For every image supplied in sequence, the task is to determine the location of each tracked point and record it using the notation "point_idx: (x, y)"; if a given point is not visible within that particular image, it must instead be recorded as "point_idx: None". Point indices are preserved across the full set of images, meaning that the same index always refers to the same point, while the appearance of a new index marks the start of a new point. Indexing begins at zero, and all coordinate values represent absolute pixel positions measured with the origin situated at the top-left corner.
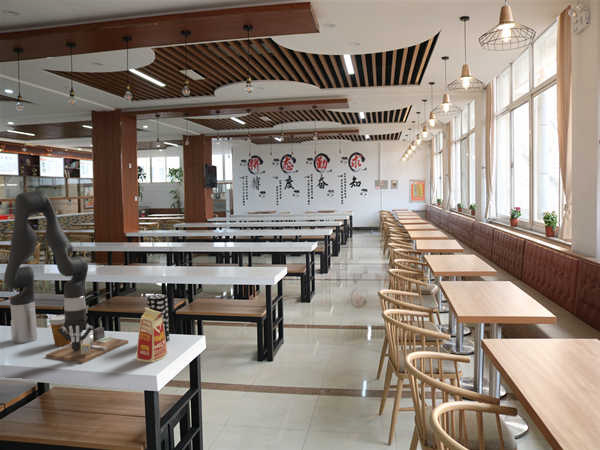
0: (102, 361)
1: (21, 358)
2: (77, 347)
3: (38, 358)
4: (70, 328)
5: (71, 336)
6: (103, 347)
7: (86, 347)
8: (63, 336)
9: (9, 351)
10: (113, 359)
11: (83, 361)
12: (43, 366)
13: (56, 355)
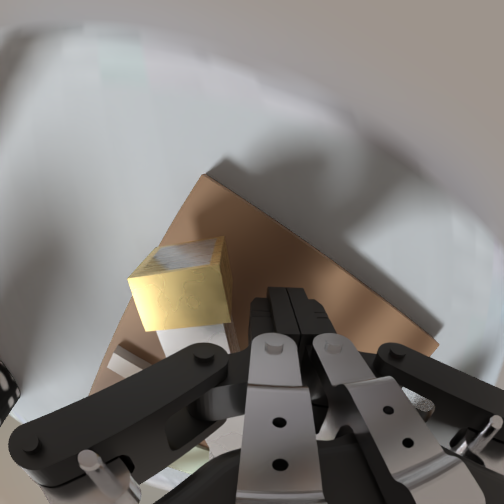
0: (85, 187)
1: (489, 331)
2: (271, 300)
3: (454, 325)
4: (450, 487)
5: (374, 377)
6: (126, 368)
7: (163, 263)
8: (457, 372)
9: (490, 384)
10: (40, 210)
11: (200, 177)
12: (440, 203)
13: (401, 324)
